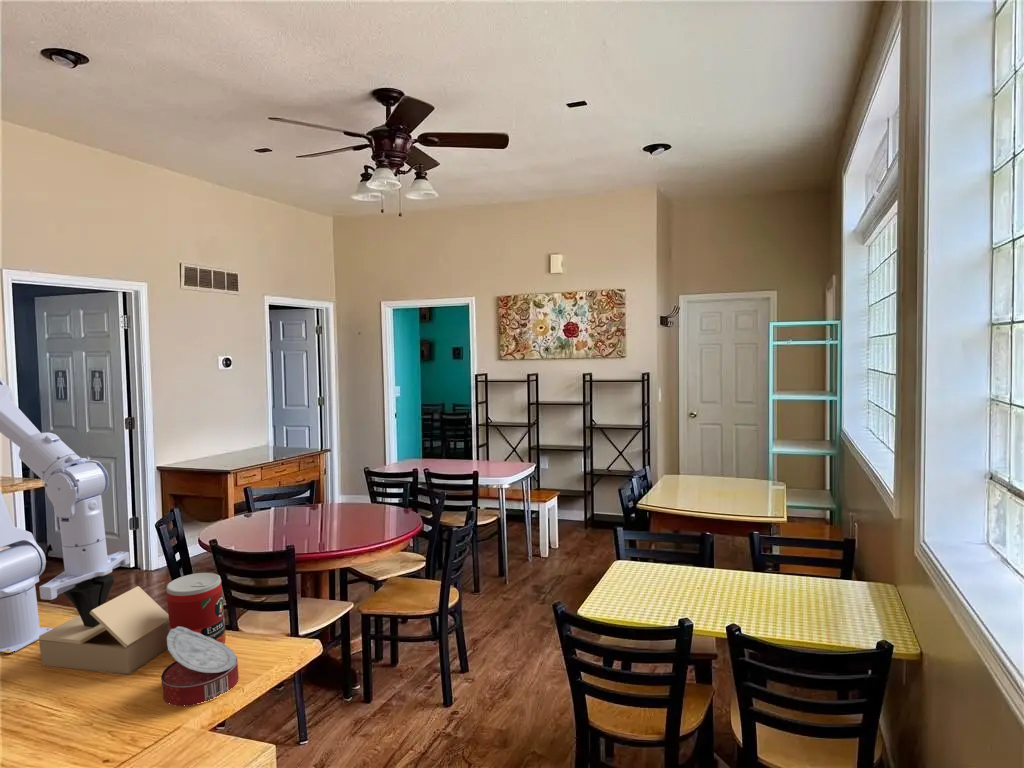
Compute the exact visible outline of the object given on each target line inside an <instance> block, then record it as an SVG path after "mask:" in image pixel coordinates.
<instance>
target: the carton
mask: <svg viewBox="0 0 1024 768" xmlns="http://www.w3.org/2000/svg"><path fill="white" fill-rule="evenodd" d="M169 632H170V625H169V622H167V623H165V624H164V625H162V626H161V627H159V628H157V629H156V630H154V631H153V632H151V633H149V634H148V635H146V636H145V637H143V638H141V639H140V640H138V641H137V642H135V643H133V644H132V645H130V646H128V647H127V648H125V647H124V646H123V645H122V644H121V643H120V642H119V641H118V640H117V639H116V638H115V637H114V636H113V635H111V634H110V633H109V632H108V631H107V630H105V631H103V632H101V633H100V634H98V635H96V636H94V637H93V638H91V639H89V640H87V641H86V642H84V643H82V644H74V643H65V642H56V641H46V640H40V639H38V642H39V651H40V659H41V665H42V666H45V665H46V666H47V667H54V668H55V667H56V668H65V669H72V670H73V669H74V670H81V671H90V672H99V673H106V674H107V673H108V674H115V675H125V676H130V675H131V674H133V673H134V672H135V670H136V671H137V670H138V669H141V667H143V666H144V665H146V664H147V663H149V662H150V661H152V660H154V658H157V657H158V656H159V655H161V654H162V653H163V652H165V651H166V650H168V646H167V636H168V634H169ZM46 666H45V667H46ZM132 672H133V673H132ZM129 674H130V675H129Z"/></svg>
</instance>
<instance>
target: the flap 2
mask: <svg viewBox="0 0 1024 768" xmlns="http://www.w3.org/2000/svg"><path fill="white" fill-rule="evenodd" d="M90 614H91V615H92V616H93V617H94V618H95V619H96V620H97V621H98V622H99V623H100V624H101V625H102V626H103V627H104V628H105V629H106V630H107V631H108V632H109V633H110V634H111V635H113V636H114V637H115V638H116V639H117V640H118V641H119V642H120V643H121V644H122V645H123V646H124V647H125V648H127V647H128V646H130V645H132V644H133V643H135V642H137V641H138V640H140V639H141V638H143V637H145V636H146V635H148V634H149V633H151V632H153V631H154V630H156V629H157V628H159V627H161V626H162V625H164V624H165V623H167V622H169V614H168V612H167V611H166V610H164V609H163V608H162V606H160V605H159V604H158V603H157V602H156V601H155V600H154V599H153V598H152V597H151V596H150V595H149V594H147V592H145V591H144V590H143V589H142V588H141V587H140V585H138V586H135V587H133V588H132V589H130V590H128V591H125V592H124V593H122V594H119V595H118V596H116V597H114V598H112V599H111V600H108V601H106V602H105V603H104V604H103V605H101V606H99V607H97V608H95V609H93V610H91V612H90Z"/></svg>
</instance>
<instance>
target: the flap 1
mask: <svg viewBox="0 0 1024 768" xmlns="http://www.w3.org/2000/svg"><path fill="white" fill-rule="evenodd" d="M105 630H106V629H105V628H104V627H103V626H102V625H101V624H99V625H97V626H95V627H89V626H84V624H83V621H82V619H81V617H80V615H77V616H75V617H72V618H71V619H69V620H67V621H66V622H64V623H62V624H60V625H58V626H56V627H54V628H53V629H52V630H50V631H48V632H46V633H44V634H42V635H40V636H39V639H38V640H46V641H56V642H65V643H74V644H82V643H84V642H86V641H87V640H89V639H91V638H93V637H94V636H96V635H98V634H100V633H101V632H103V631H105Z"/></svg>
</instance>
